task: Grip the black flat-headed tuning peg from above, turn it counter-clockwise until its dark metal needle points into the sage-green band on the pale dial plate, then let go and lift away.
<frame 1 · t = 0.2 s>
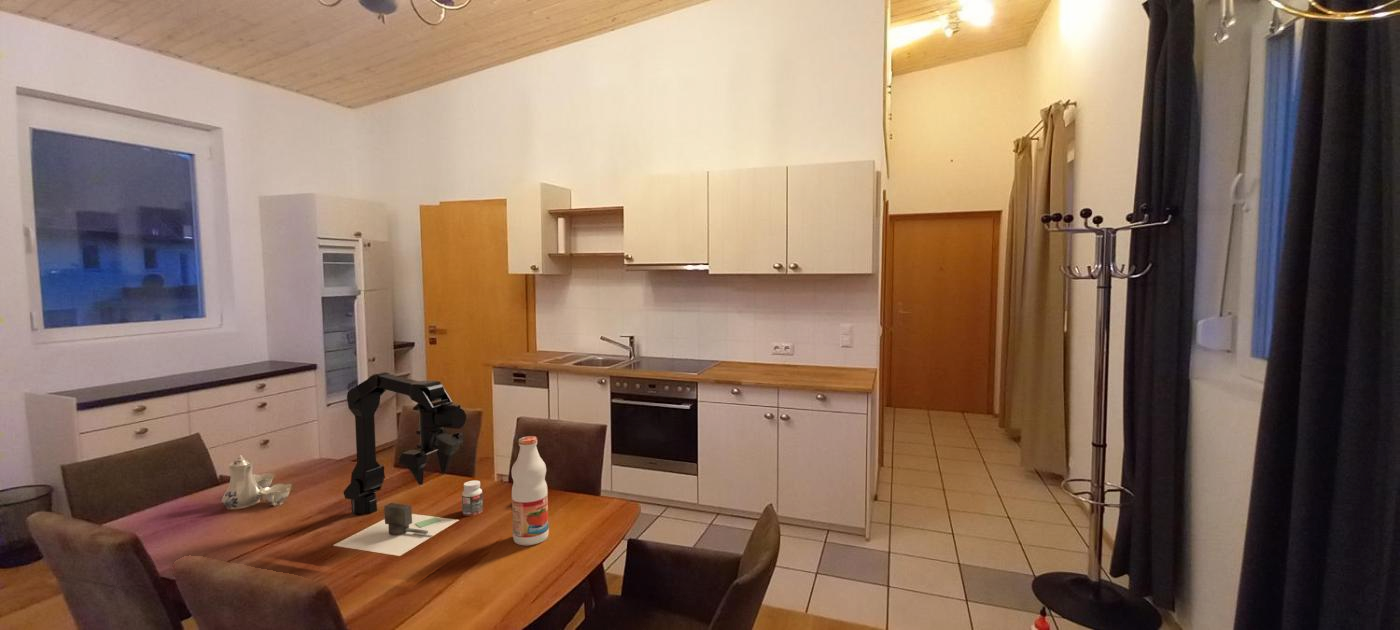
hand: (432, 478, 162), 14 cm above the table, tool pointing down, fingers open, 9 cm apart
peg: (407, 519, 156), point 5 cm above the table, hinge at 0.0°
chinaware: (255, 502, 183), on the table
fruit juice: (531, 539, 154), on the table
pill bottle: (473, 515, 170), on the table
dial plate: (399, 535, 157), on the table
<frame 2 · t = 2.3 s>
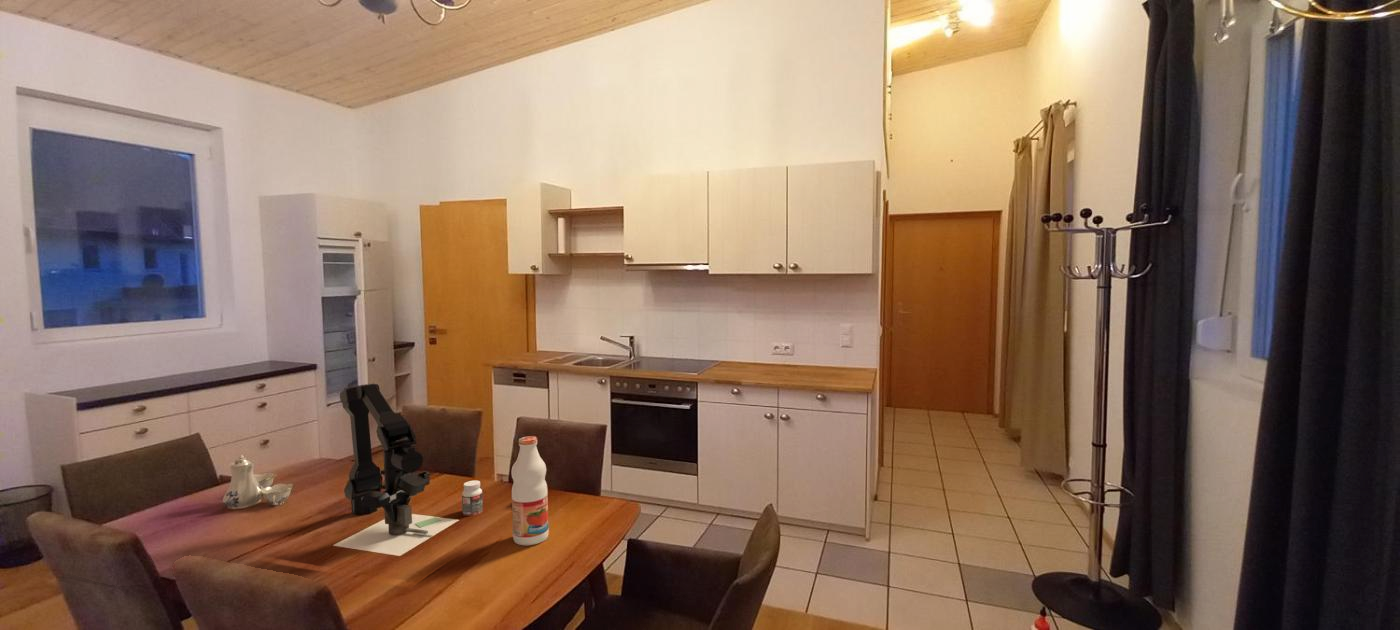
hand: (398, 519, 157), 5 cm above the table, tool pointing down, fingers closed on peg, 2 cm apart
peg: (407, 519, 156), point 5 cm above the table, hinge at 0.0°, touching gripper
everything else where it was.
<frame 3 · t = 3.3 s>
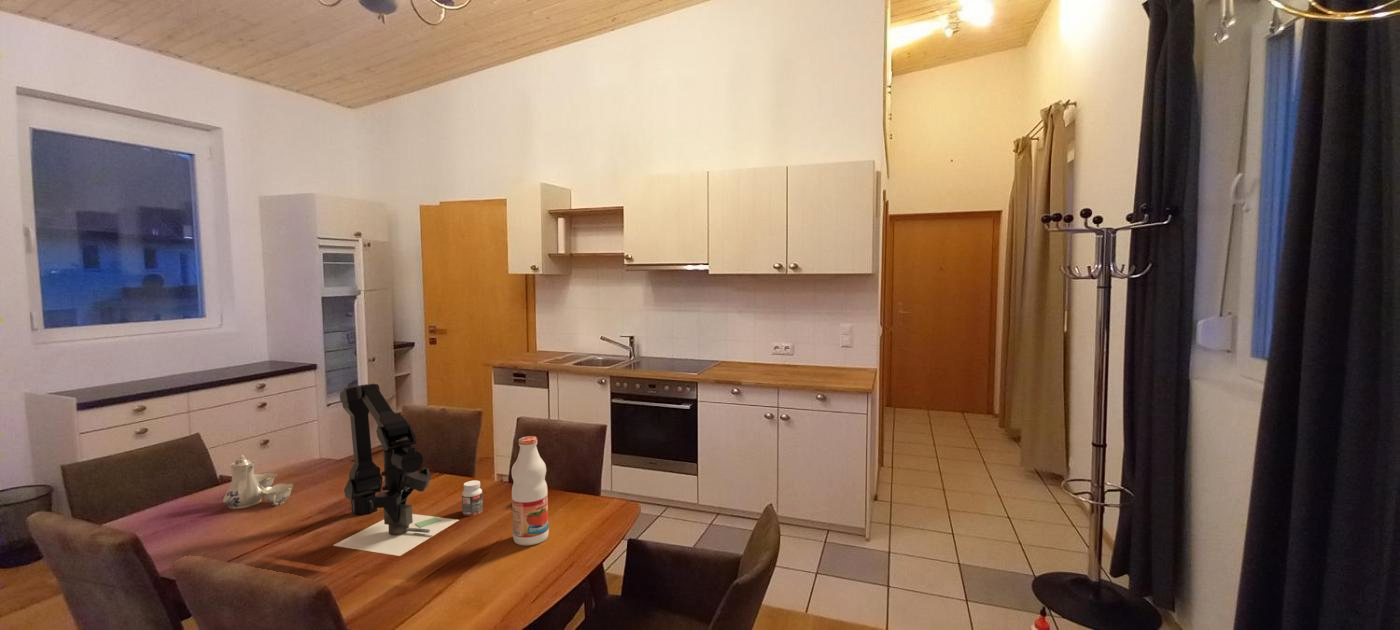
hand: (398, 519, 157), 5 cm above the table, tool pointing down, fingers closed on peg, 3 cm apart
peg: (407, 519, 156), point 5 cm above the table, hinge at 4.9°, touching gripper
everything else where it was.
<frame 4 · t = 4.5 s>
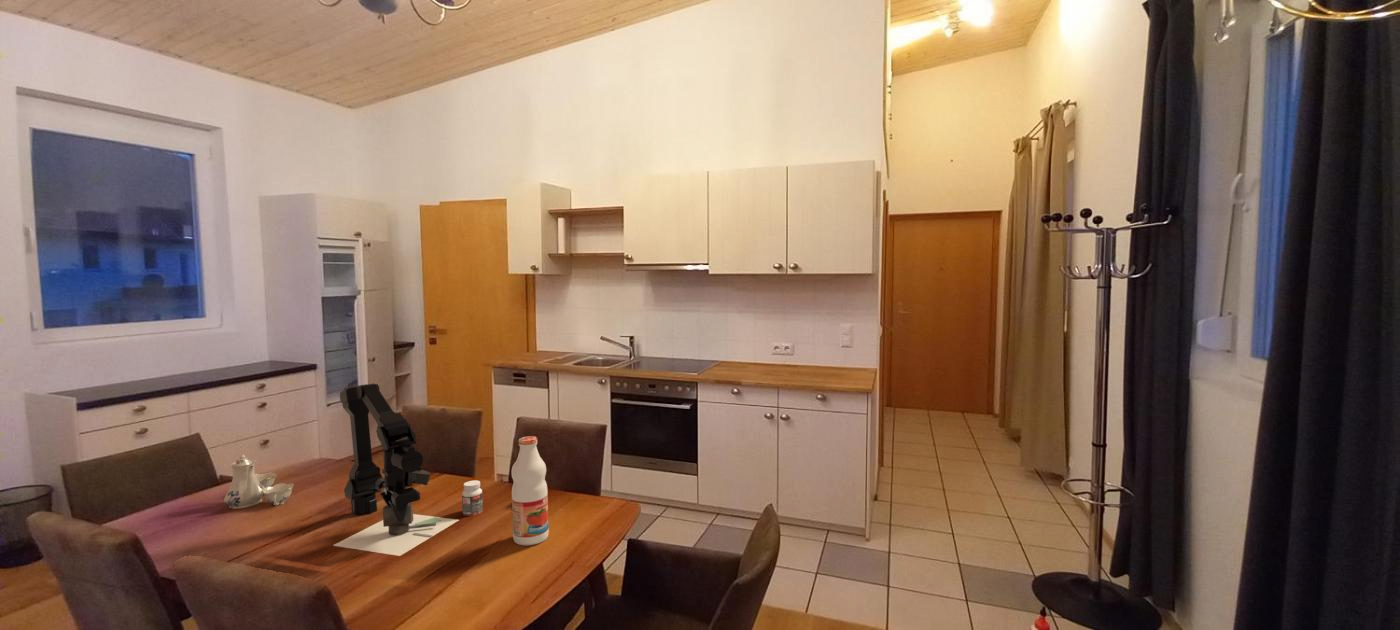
hand: (398, 519, 157), 5 cm above the table, tool pointing down, fingers closed on peg, 3 cm apart
peg: (410, 517, 157), point 5 cm above the table, hinge at 31.7°, touching gripper
everything else where it was.
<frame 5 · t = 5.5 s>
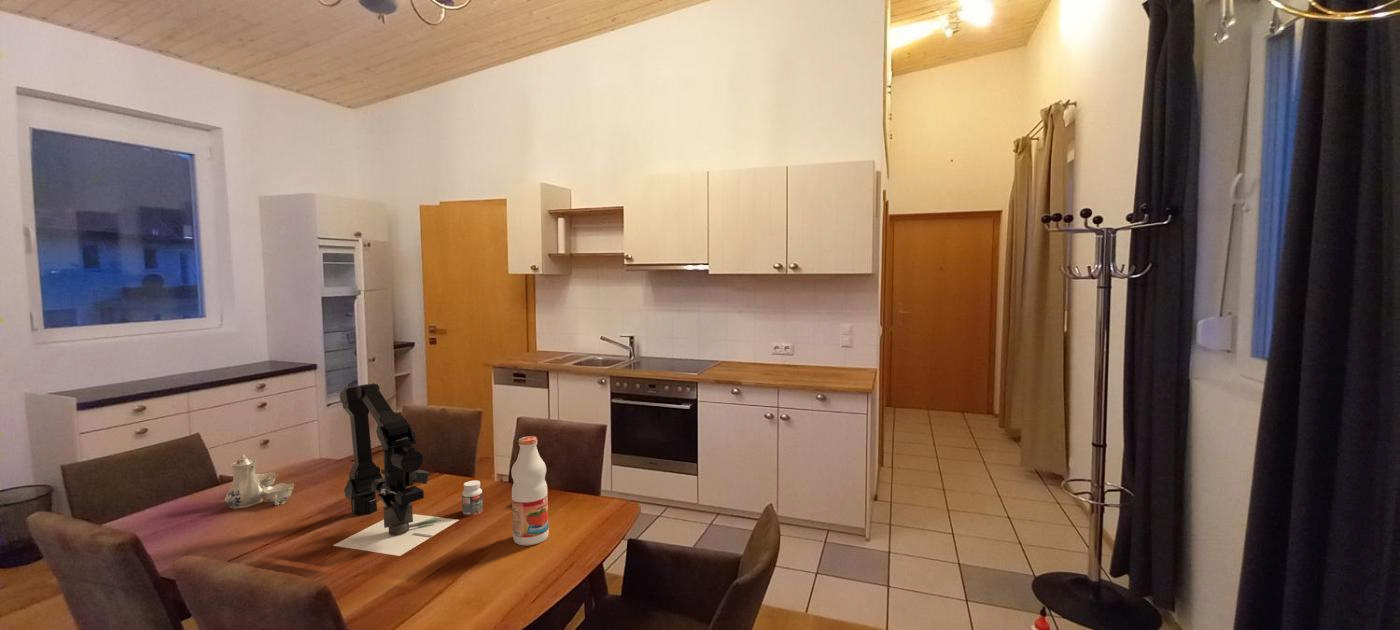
hand: (398, 519, 157), 5 cm above the table, tool pointing down, fingers closed on peg, 3 cm apart
peg: (410, 516, 158), point 5 cm above the table, hinge at 47.8°, touching gripper
everything else where it was.
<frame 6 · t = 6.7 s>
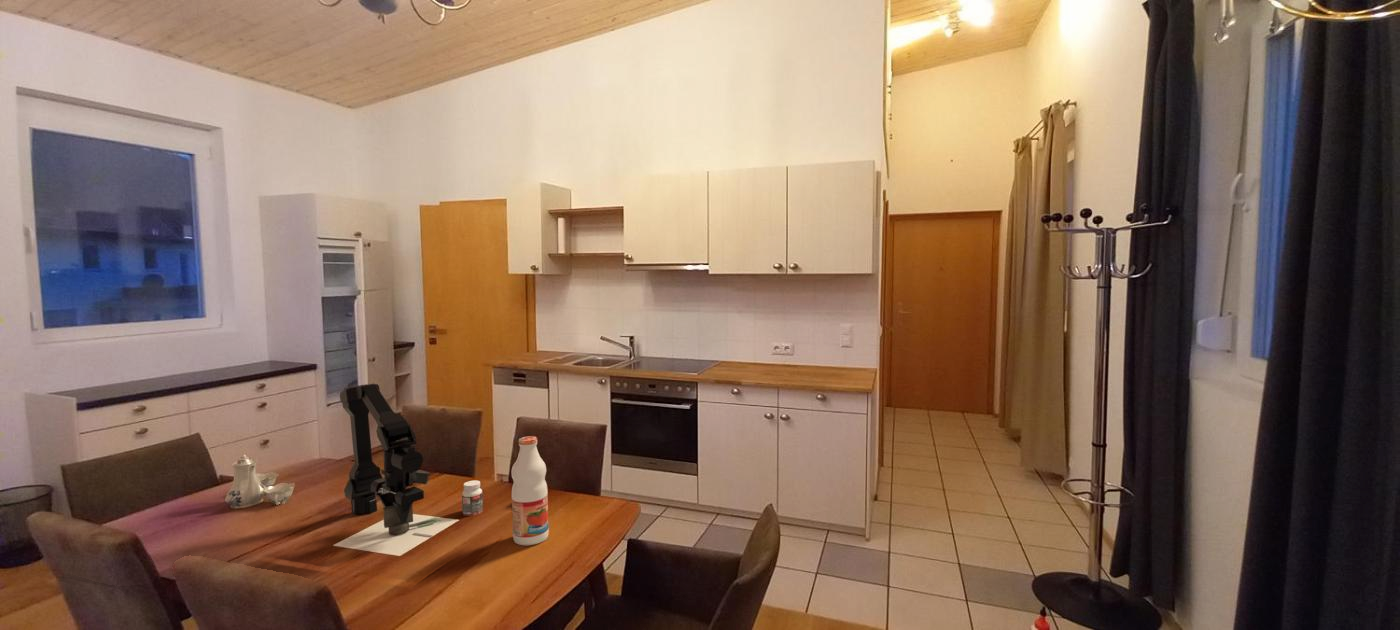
hand: (398, 519, 157), 5 cm above the table, tool pointing down, fingers open, 6 cm apart
peg: (410, 515, 158), point 5 cm above the table, hinge at 50.6°
everything else where it was.
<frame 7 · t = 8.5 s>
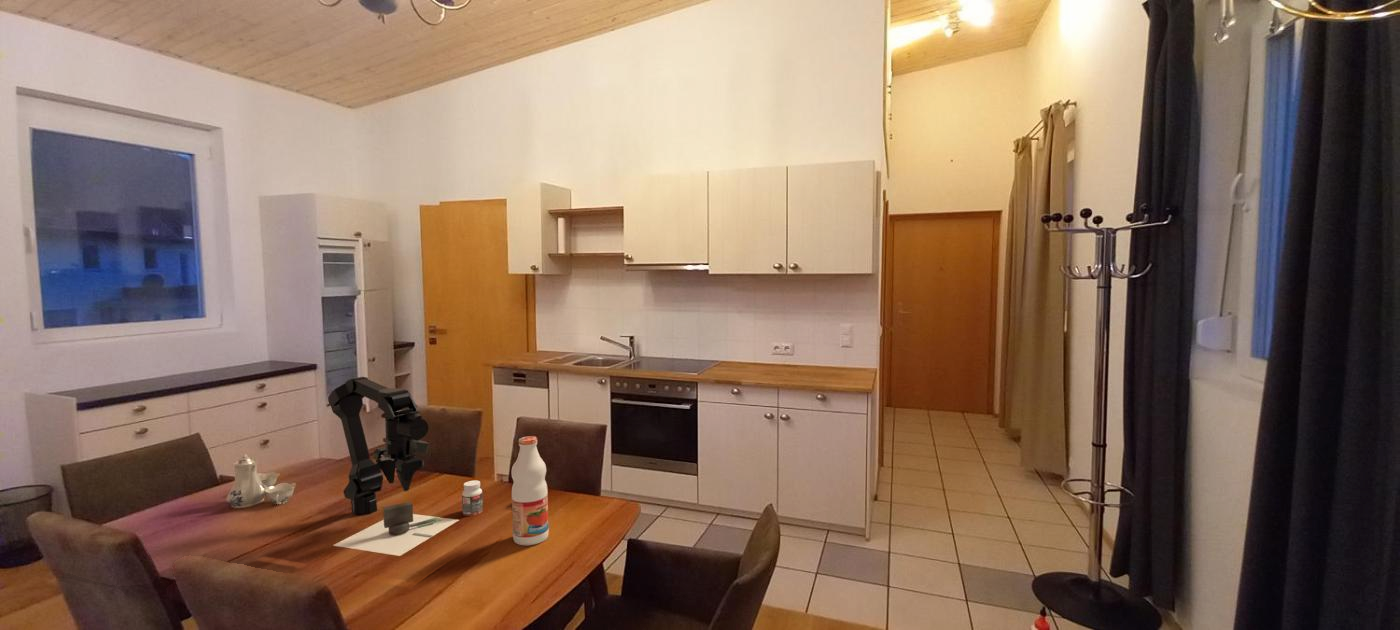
hand: (398, 486, 162), 12 cm above the table, tool pointing down, fingers open, 9 cm apart
peg: (410, 515, 158), point 5 cm above the table, hinge at 51.6°
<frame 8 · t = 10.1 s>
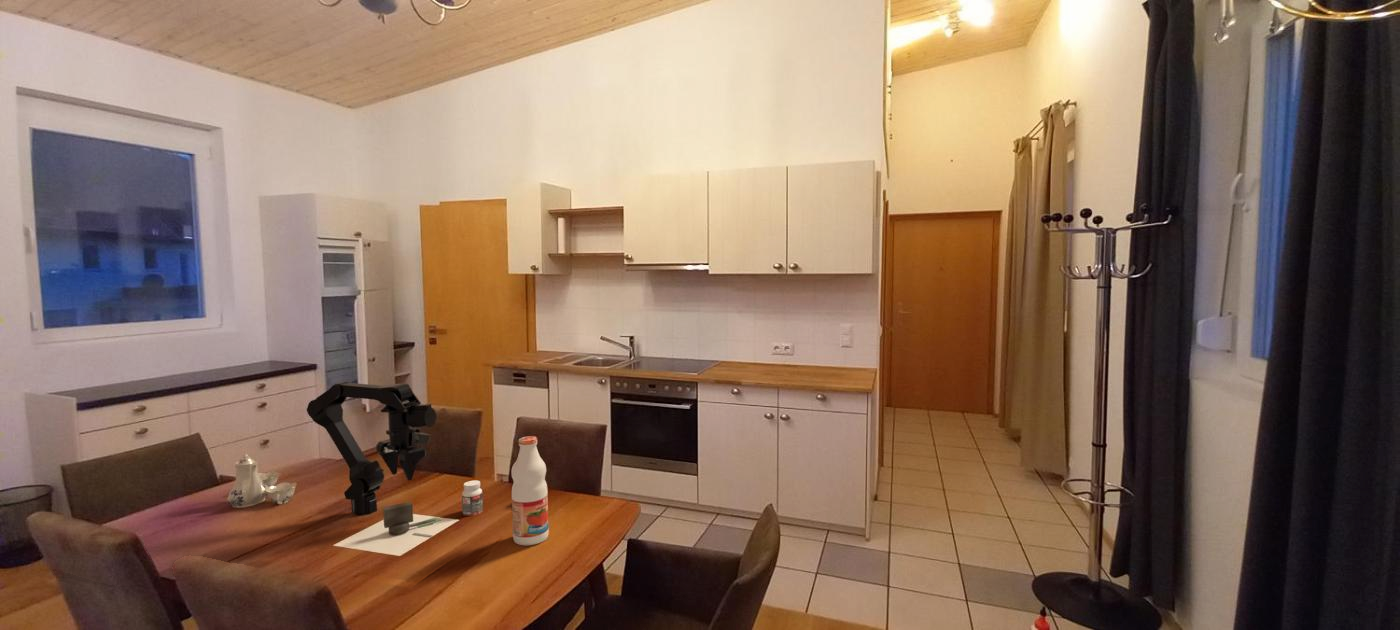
hand: (402, 477, 169), 12 cm above the table, tool pointing down, fingers open, 9 cm apart
at the end: peg at +52° (first picture: +0°); the gripper is holding nothing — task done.
